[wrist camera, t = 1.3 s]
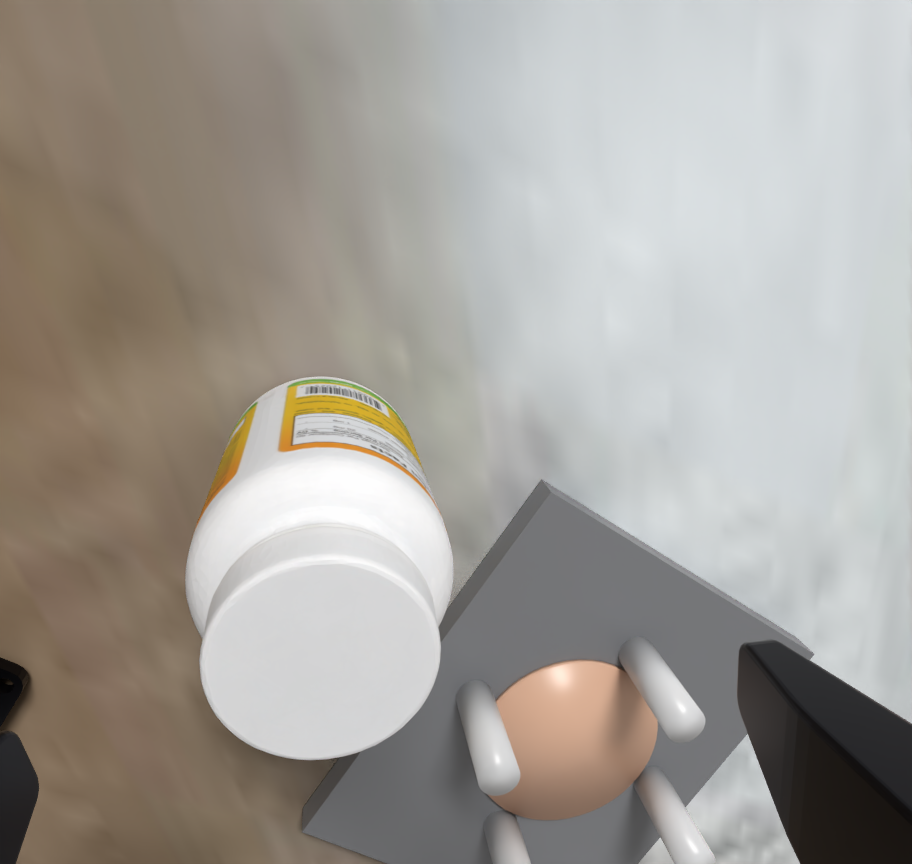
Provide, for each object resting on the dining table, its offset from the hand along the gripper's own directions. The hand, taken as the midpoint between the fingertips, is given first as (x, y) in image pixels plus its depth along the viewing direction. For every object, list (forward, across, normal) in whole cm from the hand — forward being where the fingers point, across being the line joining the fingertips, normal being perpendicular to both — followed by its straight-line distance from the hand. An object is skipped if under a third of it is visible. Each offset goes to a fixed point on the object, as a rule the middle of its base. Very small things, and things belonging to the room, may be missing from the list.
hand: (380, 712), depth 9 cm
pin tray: (+12, -3, +13) cm, 18 cm away
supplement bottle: (+12, +3, +2) cm, 13 cm away
